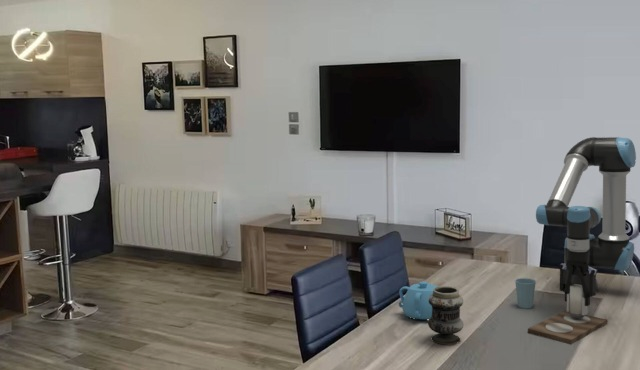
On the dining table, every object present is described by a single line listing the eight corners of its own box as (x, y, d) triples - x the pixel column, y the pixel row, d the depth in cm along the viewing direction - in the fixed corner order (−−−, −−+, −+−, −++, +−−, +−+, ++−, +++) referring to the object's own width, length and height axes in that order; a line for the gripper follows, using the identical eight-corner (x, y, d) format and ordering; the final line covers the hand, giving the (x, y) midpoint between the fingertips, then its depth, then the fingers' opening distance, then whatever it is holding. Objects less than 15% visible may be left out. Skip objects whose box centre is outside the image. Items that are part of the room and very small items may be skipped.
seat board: (565, 314, 250) (565, 309, 250) (607, 323, 238) (607, 318, 238) (527, 332, 232) (527, 327, 232) (571, 344, 220) (571, 338, 220)
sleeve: (573, 312, 242) (574, 283, 241) (586, 315, 239) (587, 286, 237) (567, 315, 239) (567, 286, 238) (580, 319, 235) (580, 289, 234)
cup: (539, 307, 259) (539, 281, 257) (524, 310, 256) (524, 284, 254) (526, 302, 266) (526, 277, 264) (511, 305, 262) (511, 279, 261)
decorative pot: (435, 308, 262) (434, 274, 261) (452, 320, 247) (452, 285, 245) (396, 312, 259) (395, 278, 257) (411, 325, 243) (410, 289, 242)
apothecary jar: (456, 348, 220) (455, 296, 218) (422, 342, 226) (422, 291, 224) (468, 336, 230) (468, 286, 228) (436, 331, 236) (435, 282, 234)
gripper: (549, 247, 240) (548, 309, 243) (598, 255, 227) (596, 320, 230) (559, 244, 245) (558, 304, 248) (607, 251, 232) (606, 315, 235)
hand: (577, 312), depth 239 cm, fingers closed on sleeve, 5 cm apart
